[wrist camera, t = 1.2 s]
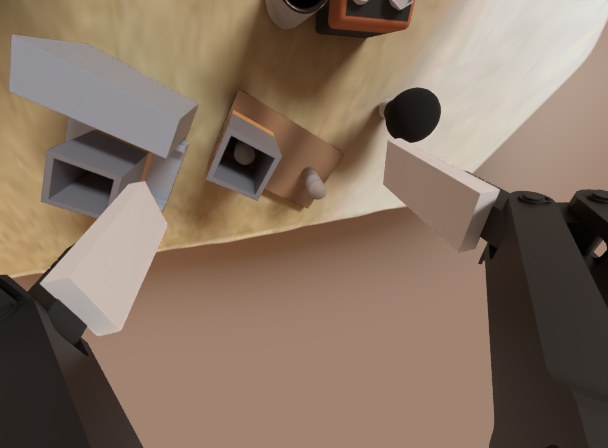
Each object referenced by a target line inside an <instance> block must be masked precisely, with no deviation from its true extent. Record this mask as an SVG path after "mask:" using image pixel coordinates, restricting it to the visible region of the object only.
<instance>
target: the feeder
mask: <svg viewBox="0 0 608 448" xmlns="http://www.w3.org/2000/svg"><path fill="white" fill-rule="evenodd" d="M9 91H10V92H12V93H15V94H17V95H19V96H22V97H24V98H26V99H29V100H31V101H33V102H36V103H38V104H40V105H43V106H45V107H47V108H50V109H52V110H54V111H57V112H59V113H61V114H64V115H66V116H68V117H69V118H68V124H67V131H66V138H65V142H67V141H69V140H71V139H74V138H76V137H78V136H81V135H83V134H85V133H88V132H90V131H92V130H95V129H99V130H101V131H103V132H105V133H108V134H110V135H112V136H115V137H117V138H119V139H122V140H124V141H126V142H129V143H131V144H133V145H136V146H138V147H140V148H143V149H145V150H147V151H150V152H152V153H153V156H152V159H151V162H150V166H149V169H148V172H147V175H146V178H145V182H146V184H147V186H148V188H149V190H150V192H151V194H152V196H153V198H154V200H155V201H156V203H157V205H158V207H159V209H160V210H161V211H163V209H164V207H165V206H166V204H167V201H168V198H169V196H170V193H171V190H172V188H173V185H174V182H175V180H176V177H177V174H178V171H179V169H180V166H181V163H182V161H183V158H184V155H185V153H186V150H187V147H188V144H189V142H187V141H185V140H183V139H184V138H185V136H186V135H187V134H188V132H189V129H190V126H191V123H192V121H193V118H194V115H195V112H196V109H197V107H198V103H196V102H194V101H192V100H190V99H188V98H187V97H185V96H183V95H181V94H179V93H178V92H176V91H174V90H172V89H170V88H168V87H167V86H165V85H163V84H161V83H159V82H157V81H156V80H154V79H152V78H150V77H148V76H146V75H145V74H143V73H141V72H139V71H137V70H135V69H134V68H132V67H130V66H128V65H126V64H124V63H123V62H121V61H119V60H117V59H115V58H113V57H112V56H110V55H108V54H106V53H104V52H103V51H101V50H99V49H97V48H95V47H93V46H92V45H90V44H83V43H75V42H67V41H60V40H52V39H44V38H36V37H28V36H20V35H12V39H11V60H10V82H9Z"/></svg>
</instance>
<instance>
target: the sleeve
mask: <svg viewBox="0 0 608 448" xmlns="http://www.w3.org/2000/svg"><path fill="white" fill-rule="evenodd" d="M152 156H153V153H152V152H150V151H147V150H145V149H143V148H140V147H138V146H136V145H133V144H131V143H129V142H126V141H124V140H122V139H119V138H117V137H115V136H112V135H110V134H108V133H105V132H103V131H101V130H99V129H95V130H92V131H90V132H88V133H85V134H83V135H81V136H78V137H76V138H74V139H71V140H69V141H67V142H64V143H62V144H60V145H57V146H55V147H52V148H50V149H48V150H47V153H46V161H45V170H44V178H43V187H42V195H41V202H43V203H47V204H50V205H53V206H57V207H60V208H63V209H67V210H70V211H73V212H77V213H80V214H83V215H87V216H90V217H94V218H97V219H98V218H99V217H100V216H101V214H102V213H103V212H104V211H105V210H106V209H107V208H108V207H109V206H110V204H111V203H112V202H113V201H114V200H115V199H116V198H117V197H118V195H119V194H120V193H121V192H122V191H123V190H124V189H125V188H126V187H127V185H128V184H131V183H137V182H143V181H145V178H146V175H147V172H148V169H149V166H150V162H151V159H152Z"/></svg>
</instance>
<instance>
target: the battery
mask: <svg viewBox="0 0 608 448" xmlns="http://www.w3.org/2000/svg"><path fill="white" fill-rule="evenodd" d="M414 2H415V0H327V1H326V3H325V4H324V5H323V6H322V7H321V8H320V9H319V10H318V11H317V13H316V32H317V33H319V34H326V35H338V36H351V37H363V38H368V37H373V36H377V35H382V34H387V33H391V32H396V31H400V30H404V29H406V28H407V27H408V26H409V24H410V20H411V15H412V11H413V6H414Z"/></svg>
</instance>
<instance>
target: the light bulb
mask: <svg viewBox="0 0 608 448" xmlns="http://www.w3.org/2000/svg"><path fill="white" fill-rule="evenodd" d="M379 115H380V116H381V117H382V118H385V119H386V127H387V130H388V132H389V133H390V135H391V136H392V137H393V138H394V139H398V138H401V139H403V140H405V141H407V142H409V143H414V142H417V141H420V140H422V139H424V138H426V137H427V136H428V135H430V134H431V133H432V131H433V130H434V129H435V127H436V126H437V124H438V122H439V119H440V115H441V106H440V103H439V100H438V98H437V97H436V95H435V94H433V93H432V92H431V91H429V90H427V89H424V88H411V89H408V90H405V91H403V92H402V93H400V94H399V95H397V96H396V97H395V98H394V99H386V100H384V101H383V102H382V103H381V104H380V106H379Z"/></svg>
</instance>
